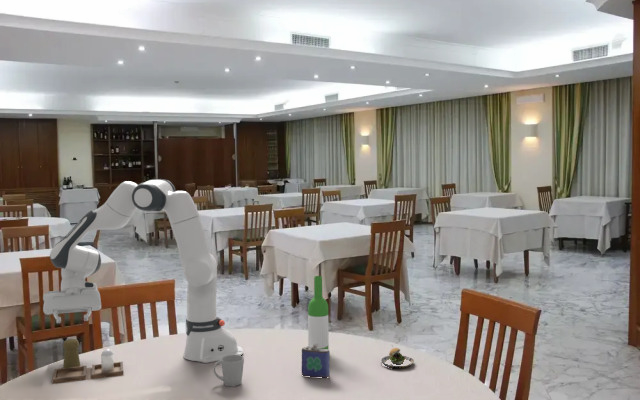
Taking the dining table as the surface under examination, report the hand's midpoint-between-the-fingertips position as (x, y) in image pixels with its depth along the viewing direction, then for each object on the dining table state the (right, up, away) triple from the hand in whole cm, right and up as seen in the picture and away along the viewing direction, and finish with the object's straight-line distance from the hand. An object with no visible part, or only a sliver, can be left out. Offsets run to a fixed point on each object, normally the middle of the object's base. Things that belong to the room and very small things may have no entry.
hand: (72, 321), depth 218 cm
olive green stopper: (+4, -16, -9) cm, 19 cm away
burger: (+120, -15, -5) cm, 121 cm away
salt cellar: (+18, -14, -15) cm, 28 cm away
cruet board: (+13, -16, -17) cm, 26 cm away
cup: (+62, -16, -23) cm, 68 cm away
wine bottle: (+91, -14, +7) cm, 93 cm away
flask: (+90, -16, -17) cm, 93 cm away
